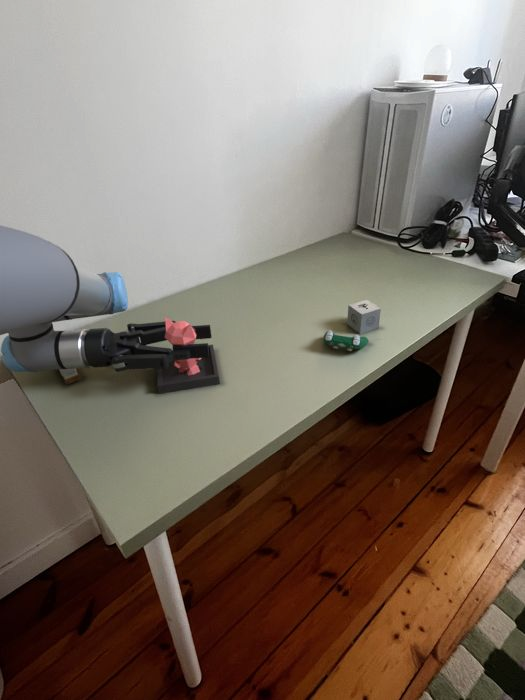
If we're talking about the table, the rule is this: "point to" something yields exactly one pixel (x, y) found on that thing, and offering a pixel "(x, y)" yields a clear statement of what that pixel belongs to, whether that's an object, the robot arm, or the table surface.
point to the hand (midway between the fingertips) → (209, 340)
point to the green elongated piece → (345, 341)
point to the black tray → (179, 381)
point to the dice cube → (363, 316)
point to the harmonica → (69, 375)
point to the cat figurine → (182, 343)
